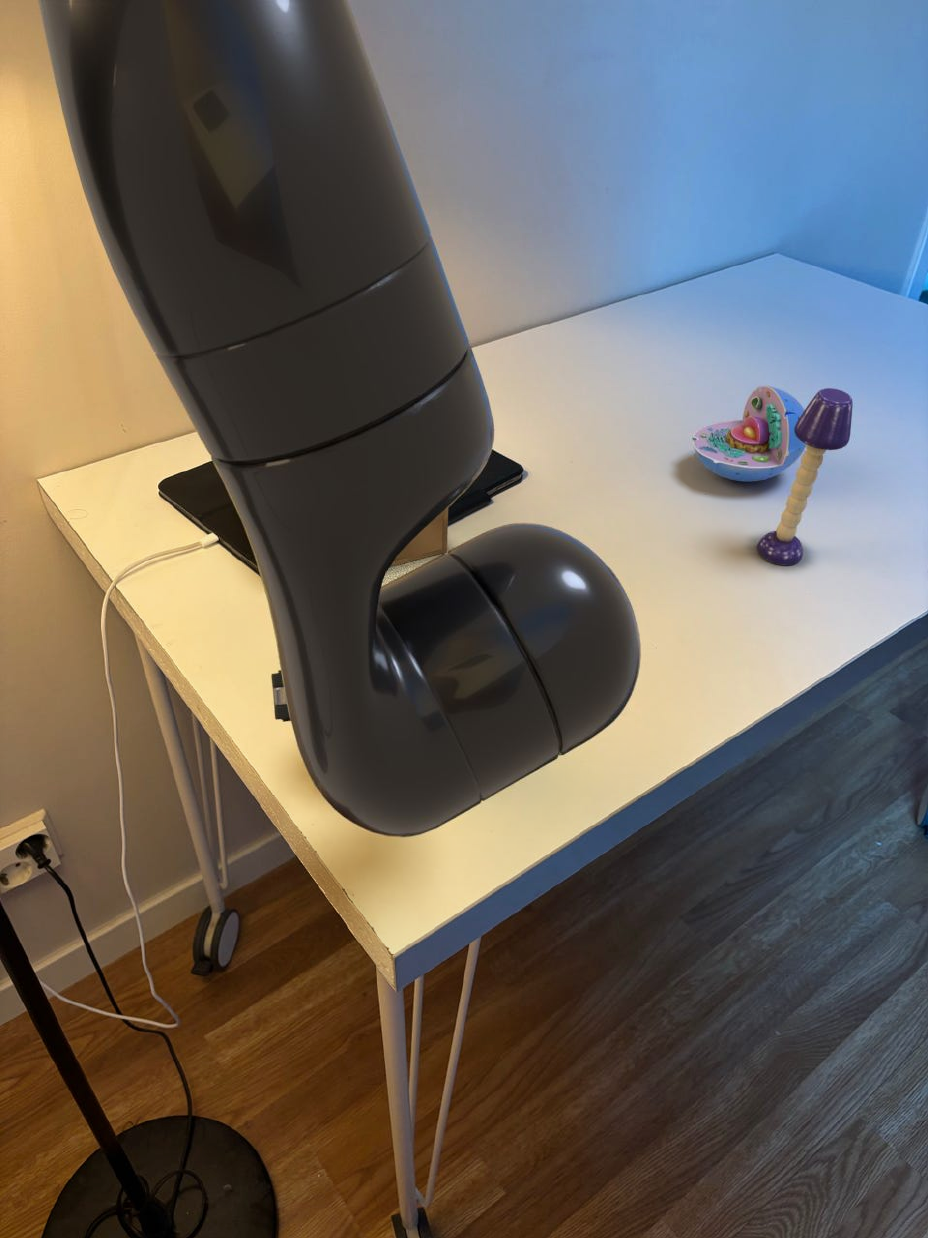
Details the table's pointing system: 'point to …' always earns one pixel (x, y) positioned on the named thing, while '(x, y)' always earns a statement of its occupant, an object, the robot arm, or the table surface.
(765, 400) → the cell model
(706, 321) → the table surface
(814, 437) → the toy lamp
